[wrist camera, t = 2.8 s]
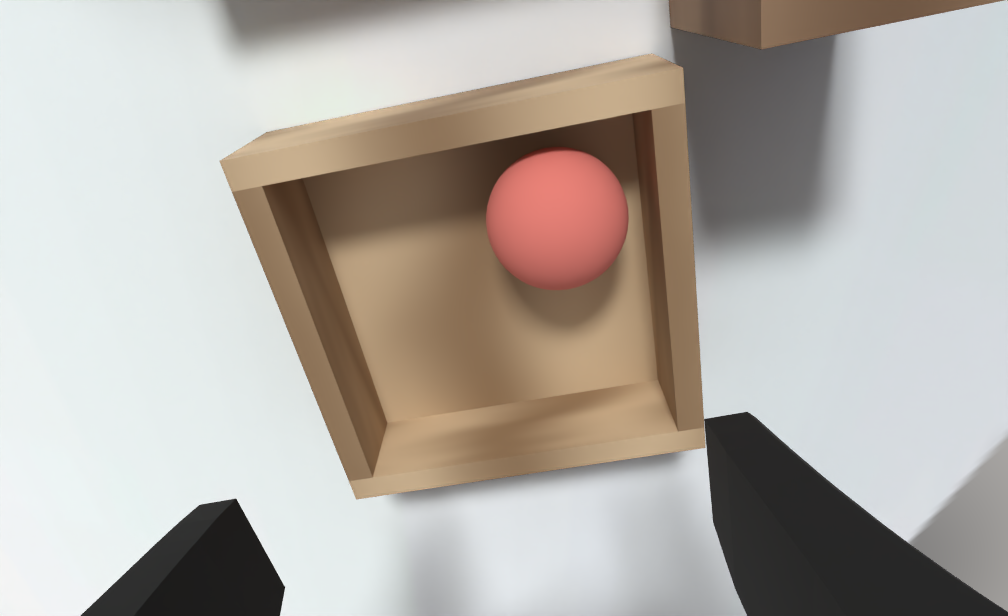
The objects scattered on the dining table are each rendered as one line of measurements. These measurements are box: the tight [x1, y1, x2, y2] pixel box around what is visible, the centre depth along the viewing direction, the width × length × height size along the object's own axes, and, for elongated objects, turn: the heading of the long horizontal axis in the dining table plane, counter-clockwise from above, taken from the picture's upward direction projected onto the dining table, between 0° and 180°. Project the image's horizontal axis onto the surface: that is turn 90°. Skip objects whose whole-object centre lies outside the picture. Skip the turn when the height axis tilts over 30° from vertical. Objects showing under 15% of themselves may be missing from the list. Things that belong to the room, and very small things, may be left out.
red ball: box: [486, 147, 629, 290], centre depth 15 cm, size 3×3×3 cm
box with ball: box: [220, 54, 705, 499], centre depth 17 cm, size 10×10×3 cm
